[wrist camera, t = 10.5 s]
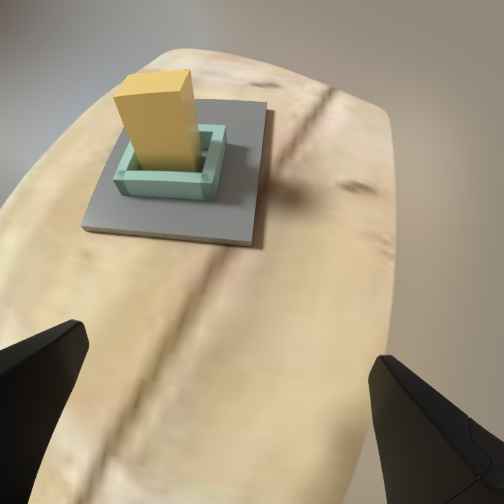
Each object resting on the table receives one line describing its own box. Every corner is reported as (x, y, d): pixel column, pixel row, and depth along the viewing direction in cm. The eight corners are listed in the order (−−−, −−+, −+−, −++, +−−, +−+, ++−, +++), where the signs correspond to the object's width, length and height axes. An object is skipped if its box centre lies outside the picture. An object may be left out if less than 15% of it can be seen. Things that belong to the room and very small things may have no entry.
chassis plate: (251, 246, 24) (252, 226, 21) (85, 230, 24) (68, 212, 21) (266, 108, 31) (268, 85, 28) (140, 107, 31) (134, 86, 28)
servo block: (197, 180, 25) (179, 91, 16) (146, 179, 25) (113, 96, 16) (203, 156, 26) (190, 69, 17) (154, 155, 26) (128, 74, 17)
